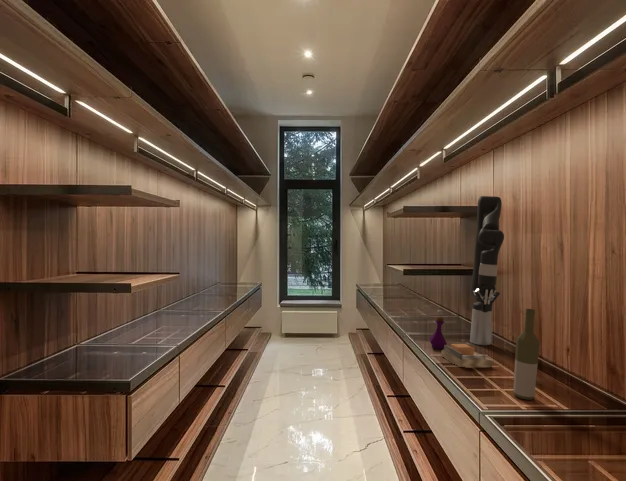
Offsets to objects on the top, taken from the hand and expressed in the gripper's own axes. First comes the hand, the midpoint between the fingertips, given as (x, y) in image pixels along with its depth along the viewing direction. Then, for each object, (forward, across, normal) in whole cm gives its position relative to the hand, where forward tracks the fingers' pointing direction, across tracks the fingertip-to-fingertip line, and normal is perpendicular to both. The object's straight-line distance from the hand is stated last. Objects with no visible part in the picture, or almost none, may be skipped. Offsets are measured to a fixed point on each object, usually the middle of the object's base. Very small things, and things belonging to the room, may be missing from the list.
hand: (484, 312), depth 180 cm
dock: (+20, -13, -7) cm, 25 cm away
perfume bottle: (+21, -14, +13) cm, 28 cm away
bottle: (+19, -15, -43) cm, 50 cm away
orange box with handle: (+17, -15, -7) cm, 24 cm away
